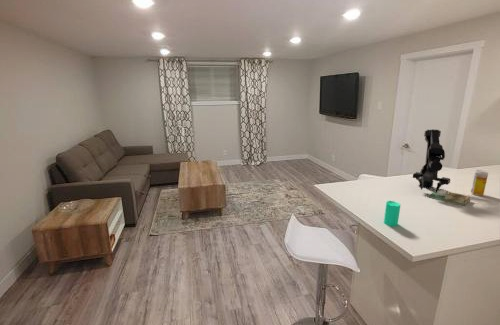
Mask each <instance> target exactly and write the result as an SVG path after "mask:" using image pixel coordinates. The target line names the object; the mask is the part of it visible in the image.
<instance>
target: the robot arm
mask: <svg viewBox="0 0 500 325" xmlns="http://www.w3.org/2000/svg"><path fill="white" fill-rule="evenodd" d="M441 132H442V131H441V130H440V129H427V130H425V131H424V134H423V136H424V140H425V142H426V154H425V162H424V165H423V166H422V167H421V169H420V172H418V171H416V172H415V173H413V174H412V178H413V179H416V180H417V181H418V183H419V185H418V187H420V190H421V191H422V190H423V189H431V188H433V185H434V181H437V183H436V185H437V186H436V188H435V190H434V191H435V193H437V191H438V190H439V189H441V188H442V187H443V186H444V185H446V186H447V185H449V184H450V183H451V178H450V177H445V176H442V177H439V176H438V173H439V172H440V171H441V170H442V169H443V164H442V162H441V161H444V160H445V158H446V151H445V149H444V148H443V145H442V144H440V137H441Z"/></svg>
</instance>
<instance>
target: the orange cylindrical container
mask: <svg viewBox="0 0 500 325" xmlns="http://www.w3.org/2000/svg"><path fill="white" fill-rule="evenodd" d="M488 172H489V171H486V170H482V169H476V171H474V176H473V180H472V183H471V184H472V185H471V189H470V193H471V194H472V195H473V196H478V197H482V196H484V194H485V190H486V185H487V180H488V176H489V173H488Z"/></svg>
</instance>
